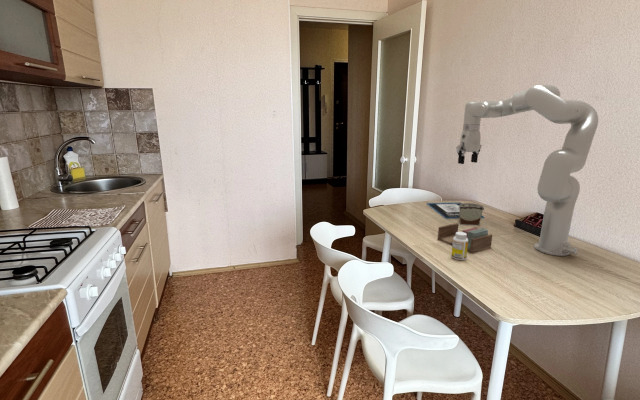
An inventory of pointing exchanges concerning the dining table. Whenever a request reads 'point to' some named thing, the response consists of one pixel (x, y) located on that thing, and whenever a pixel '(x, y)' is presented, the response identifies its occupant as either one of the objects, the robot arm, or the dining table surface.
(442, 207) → the sketchbook
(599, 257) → the dining table surface
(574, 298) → the dining table surface
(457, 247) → the supplement bottle
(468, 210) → the food container
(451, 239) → the rack
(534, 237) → the dining table surface
